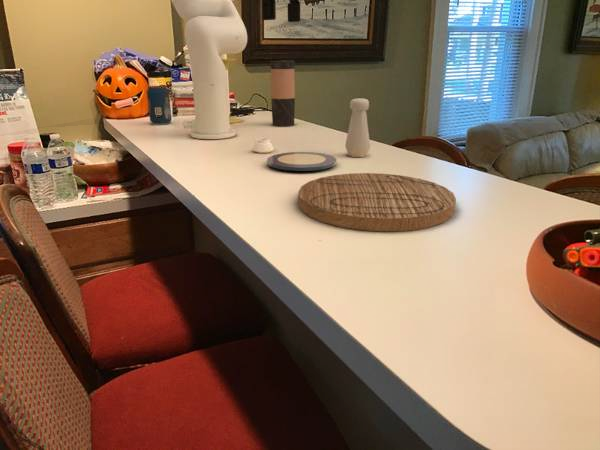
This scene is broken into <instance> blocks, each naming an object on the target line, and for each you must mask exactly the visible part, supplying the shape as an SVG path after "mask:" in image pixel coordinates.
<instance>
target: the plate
mask: <svg viewBox="0 0 600 450" xmlns="http://www.w3.org/2000/svg"><path fill="white" fill-rule="evenodd" d="M266 164H267V165H268V166H269V167H272V168H274V169H277V170H278V169H279V170H284V171H297V172H298V171H299V172H308V171H309V172H311V171H320V170H326V169H329V168H333V167H334V166H336V165H337V158H336V157H335V156H333V155H330V154H326V153H322V152H313V151H293V152H289V151H288V152H281V153H277V154H273V155H271V156H269V157H267V159H266Z"/></svg>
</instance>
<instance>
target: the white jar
mask: <svg viewBox="0 0 600 450" xmlns="http://www.w3.org/2000/svg"><path fill="white" fill-rule="evenodd" d="M274 150H275V149H274V146H273V143H272V142H271V141H270V138H265V137H264V138H263V137H261V138H257V139H256V142H255V143H254V145H253V148H252V151H253V152H255V153H260V154H267V153H271V152H273V151H274Z"/></svg>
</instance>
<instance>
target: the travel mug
mask: <svg viewBox="0 0 600 450" xmlns="http://www.w3.org/2000/svg"><path fill="white" fill-rule="evenodd" d="M295 81H296V79H295V60H293V59H292V60H290V59H287V60H285V59H280V60H270V101H271V119H272V122H271V123H272V126H274V127H293V126H295V114H296V113H295V112H296V111H295V109H296V108H295V107H296V87H295V86H296V84H295V83H296V82H295Z"/></svg>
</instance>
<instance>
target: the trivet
mask: <svg viewBox="0 0 600 450" xmlns="http://www.w3.org/2000/svg"><path fill="white" fill-rule="evenodd" d="M297 195H298V196H297V197H298V198H297V199H298V200H297V201H298V207H299V209H300V211H302V212H303V213H304V214H305V215H307V216H308V217H310V218H312V219H314V220H317V221H318V222H321V223H325V224H328V225H332V226H336V227H339V228H345V229H353V230H359V231H369V232H370V231H371V232H407V231H409V232H410V231H414V230H422V229H428V228H431V227H434V226H438V225H440V224H443V223H445V222H447V221H448V220H449V219H451V218H452V217H453V215H454V213H455V211H456V202H457V198H456V195H455V194H454V192H452V191H451V190H450V189H449V188H447V187H445V186H443V185H441V184H438V183H436V182H434V181H431V180H425V179H422V178H417V177H413V176H408V175H400V174H391V173H375V172H374V173H373V172H361V173H360V172H359V173H358V172H356V173H355V172H354V173H342V174H334V175H328V176H322V177H319V178H315V179H312V180H310V181H307V182H306V183H305V184H302V185H301V186H300V188H299V189H298V194H297Z"/></svg>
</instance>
